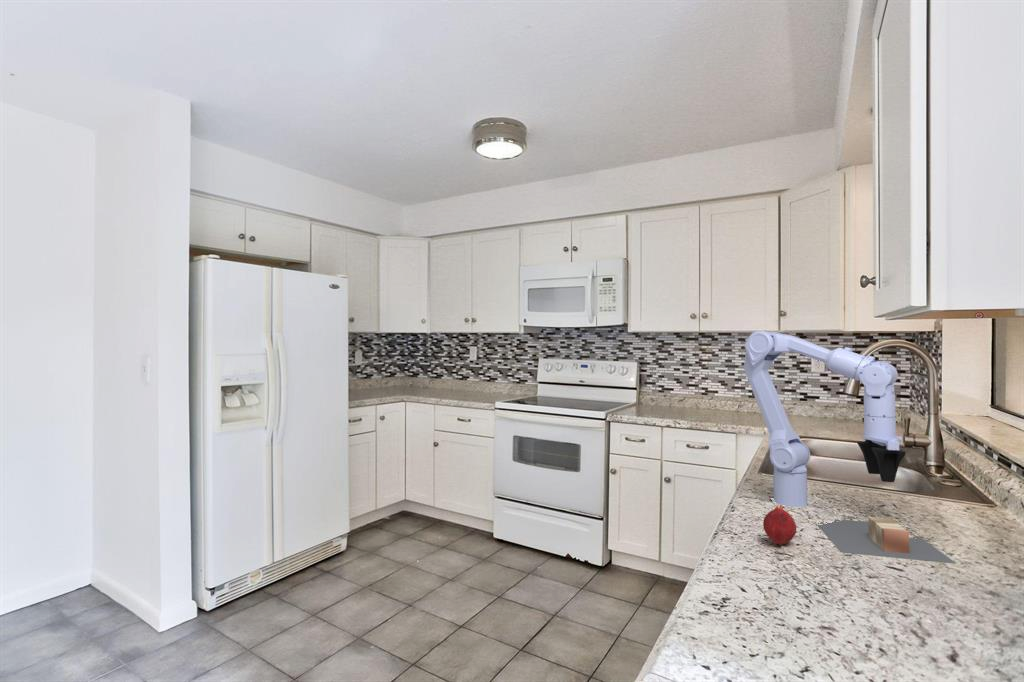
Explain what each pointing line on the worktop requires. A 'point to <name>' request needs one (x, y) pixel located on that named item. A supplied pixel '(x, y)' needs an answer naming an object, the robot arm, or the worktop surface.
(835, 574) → the worktop surface
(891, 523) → the block
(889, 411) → the robot arm
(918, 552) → the mat
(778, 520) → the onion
